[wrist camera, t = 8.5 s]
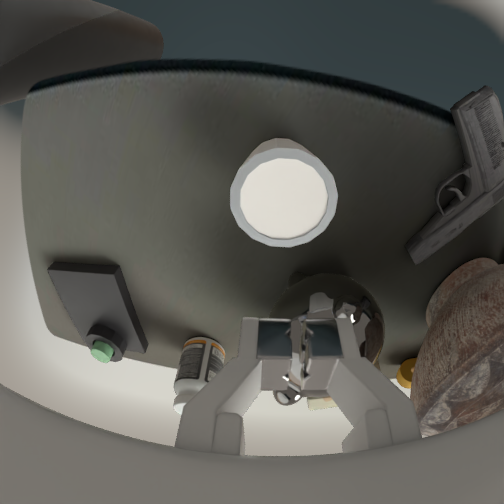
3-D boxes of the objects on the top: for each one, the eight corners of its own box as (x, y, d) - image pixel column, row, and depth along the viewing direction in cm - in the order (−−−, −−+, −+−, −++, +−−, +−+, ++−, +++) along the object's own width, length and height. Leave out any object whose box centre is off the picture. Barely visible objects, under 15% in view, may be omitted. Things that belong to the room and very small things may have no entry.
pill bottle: (183, 355, 38) (168, 415, 30) (185, 330, 35) (167, 396, 27) (222, 363, 39) (213, 424, 30) (228, 339, 35) (219, 407, 27)
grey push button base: (53, 261, 30) (39, 277, 28) (119, 265, 30) (107, 284, 27) (90, 338, 39) (82, 354, 36) (150, 348, 38) (143, 367, 35)
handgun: (364, 180, 21) (419, 271, 26) (495, 83, 14) (527, 183, 18) (357, 172, 23) (411, 258, 27) (482, 80, 16) (516, 176, 20)
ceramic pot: (478, 346, 36) (520, 456, 16) (360, 360, 37) (385, 517, 17) (544, 222, 22) (636, 337, 2) (421, 197, 23) (576, 419, 3)
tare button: (92, 338, 33) (87, 347, 32) (109, 341, 33) (104, 351, 32) (99, 351, 35) (95, 360, 34) (116, 355, 35) (112, 364, 33)
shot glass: (223, 156, 23) (207, 183, 17) (295, 115, 21) (306, 127, 15) (266, 219, 26) (265, 264, 20) (333, 184, 24) (354, 220, 18)
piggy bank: (259, 337, 35) (255, 419, 25) (274, 233, 27) (275, 326, 17) (344, 341, 35) (358, 419, 25) (383, 244, 27) (427, 329, 17)
